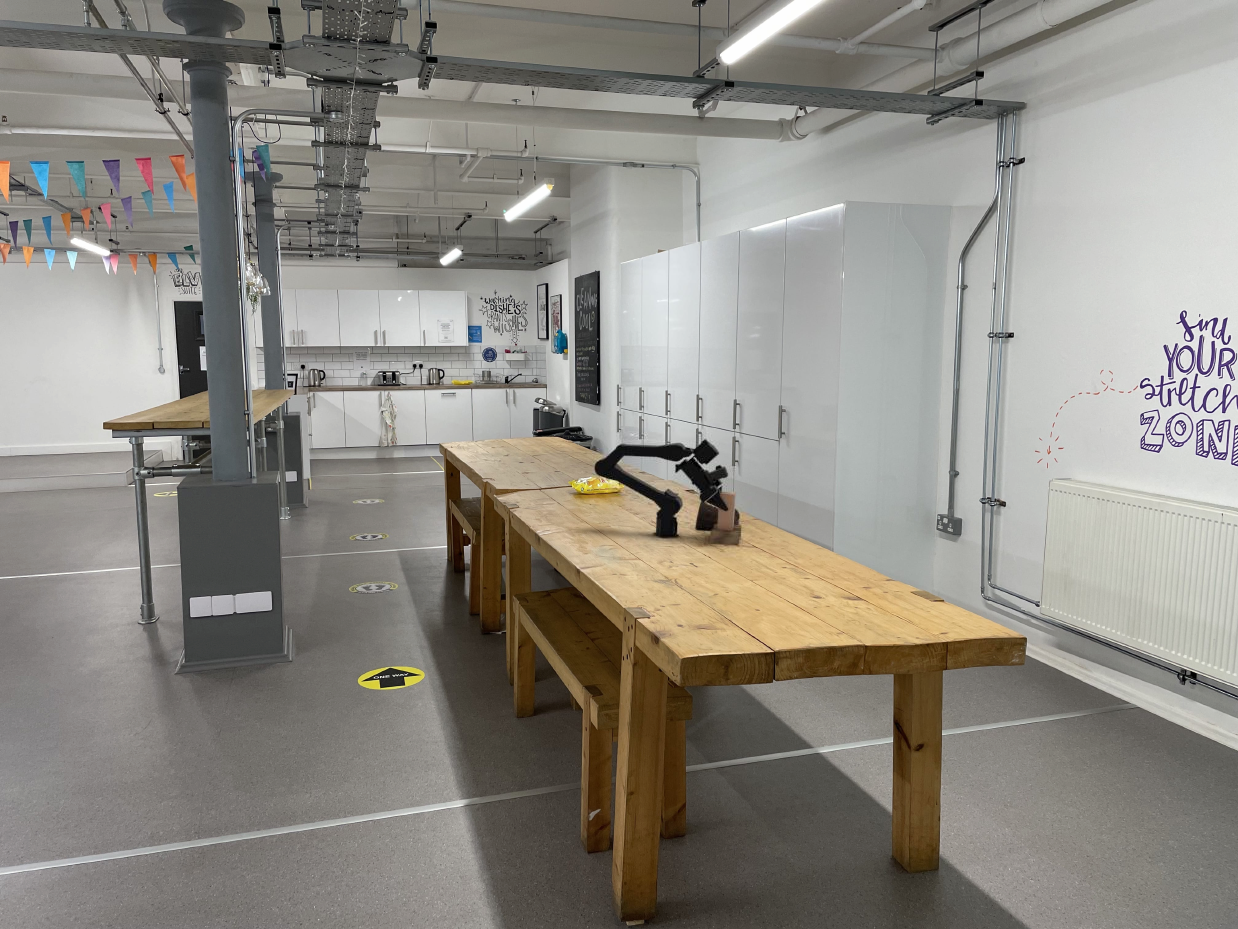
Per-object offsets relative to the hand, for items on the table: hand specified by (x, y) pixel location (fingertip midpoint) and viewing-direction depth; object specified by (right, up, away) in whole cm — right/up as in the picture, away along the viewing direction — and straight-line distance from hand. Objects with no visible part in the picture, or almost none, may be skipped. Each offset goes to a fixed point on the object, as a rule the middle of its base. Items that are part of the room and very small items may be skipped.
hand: (728, 509), depth 284 cm
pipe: (-1, -8, +22) cm, 23 cm away
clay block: (-1, -7, +1) cm, 7 cm away
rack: (-1, -10, +1) cm, 10 cm away
